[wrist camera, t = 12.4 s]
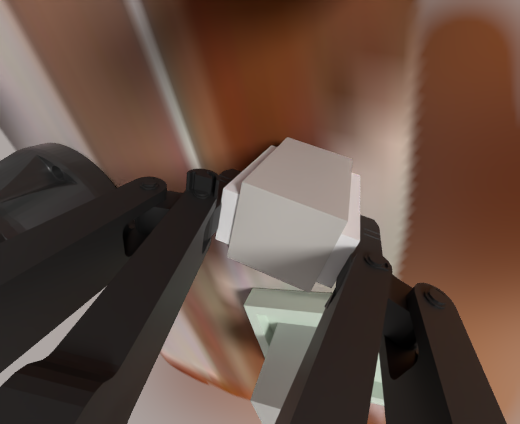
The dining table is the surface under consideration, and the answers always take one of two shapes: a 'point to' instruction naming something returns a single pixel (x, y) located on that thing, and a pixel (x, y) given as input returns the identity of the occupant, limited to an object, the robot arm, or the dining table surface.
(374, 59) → the dining table surface
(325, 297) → the bin
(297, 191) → the stone
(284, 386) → the stone
